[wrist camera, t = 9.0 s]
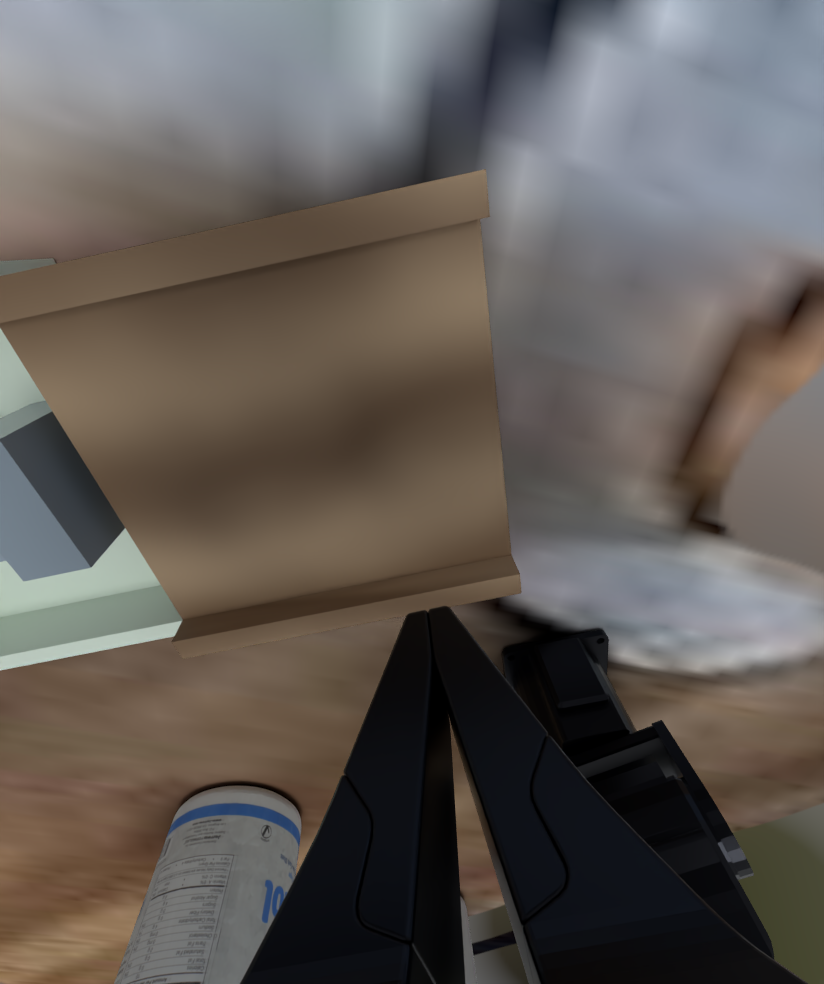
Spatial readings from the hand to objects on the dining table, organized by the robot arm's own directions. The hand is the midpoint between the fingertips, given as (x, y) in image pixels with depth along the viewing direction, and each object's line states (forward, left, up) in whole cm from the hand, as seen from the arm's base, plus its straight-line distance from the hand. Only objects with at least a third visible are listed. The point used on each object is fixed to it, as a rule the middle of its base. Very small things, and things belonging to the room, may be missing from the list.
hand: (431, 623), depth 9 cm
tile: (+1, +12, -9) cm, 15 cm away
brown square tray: (+1, +4, -12) cm, 13 cm away
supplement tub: (-29, +19, -13) cm, 37 cm away
